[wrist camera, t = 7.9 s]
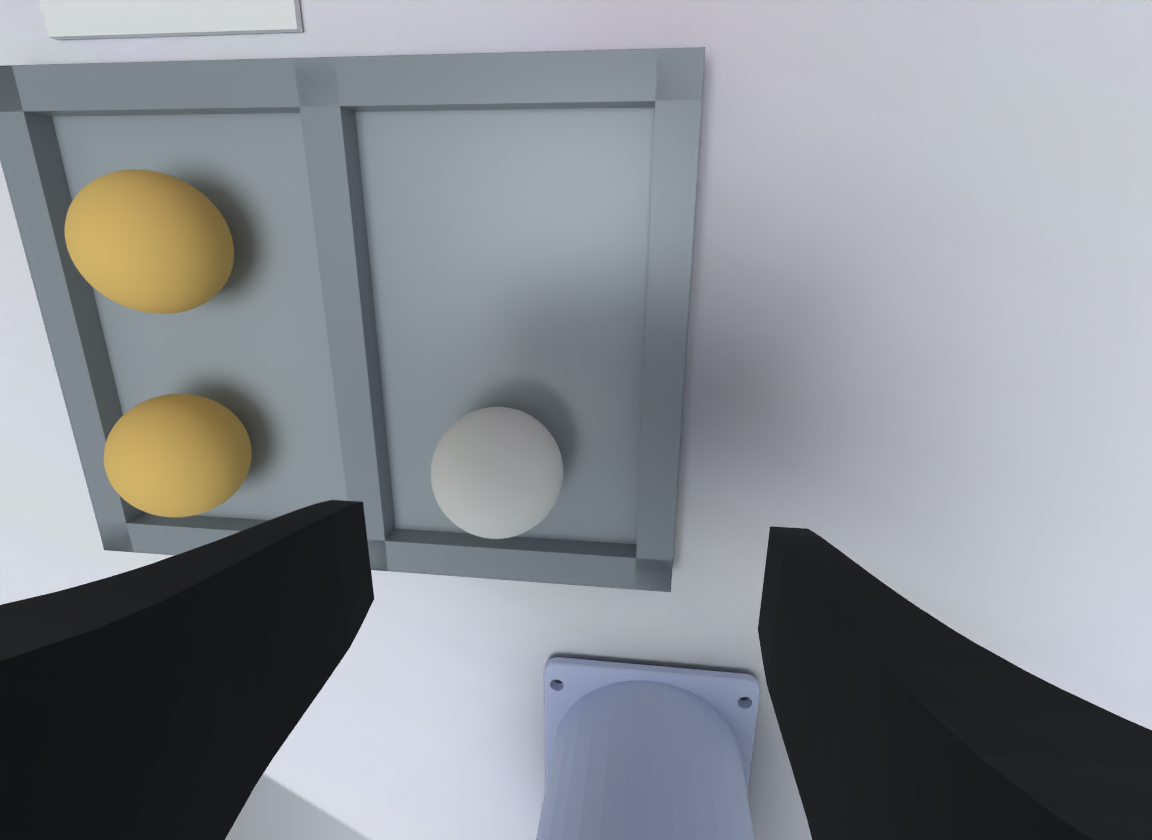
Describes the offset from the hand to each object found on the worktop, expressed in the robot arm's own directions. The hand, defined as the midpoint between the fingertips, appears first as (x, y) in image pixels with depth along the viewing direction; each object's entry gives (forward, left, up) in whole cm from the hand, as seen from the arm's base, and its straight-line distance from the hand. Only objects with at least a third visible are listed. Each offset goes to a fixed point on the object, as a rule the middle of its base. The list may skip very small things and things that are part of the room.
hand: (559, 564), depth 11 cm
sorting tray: (+2, +8, -10) cm, 13 cm away
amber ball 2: (-2, +13, -9) cm, 17 cm away
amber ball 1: (+5, +13, -9) cm, 17 cm away
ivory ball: (-2, +3, -9) cm, 10 cm away
